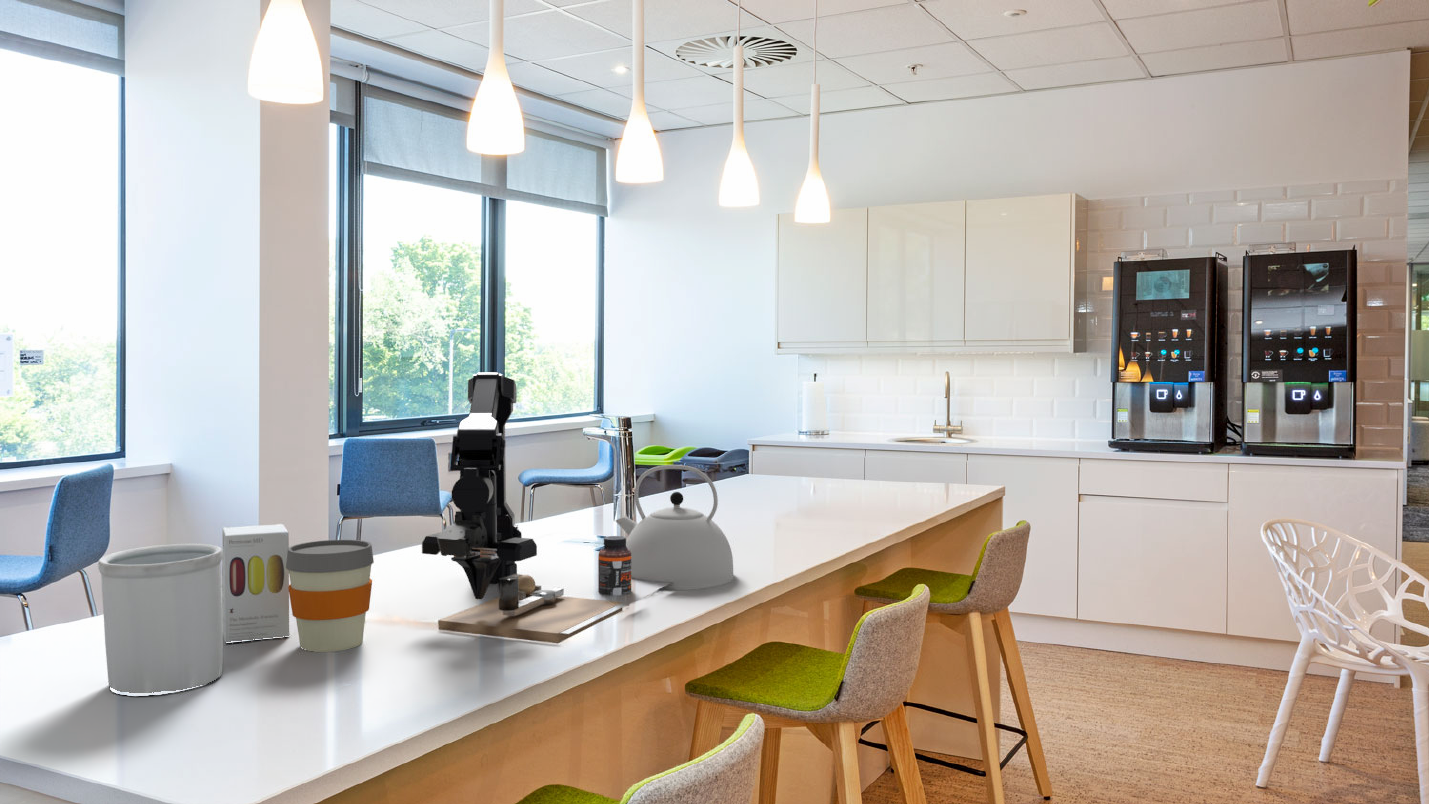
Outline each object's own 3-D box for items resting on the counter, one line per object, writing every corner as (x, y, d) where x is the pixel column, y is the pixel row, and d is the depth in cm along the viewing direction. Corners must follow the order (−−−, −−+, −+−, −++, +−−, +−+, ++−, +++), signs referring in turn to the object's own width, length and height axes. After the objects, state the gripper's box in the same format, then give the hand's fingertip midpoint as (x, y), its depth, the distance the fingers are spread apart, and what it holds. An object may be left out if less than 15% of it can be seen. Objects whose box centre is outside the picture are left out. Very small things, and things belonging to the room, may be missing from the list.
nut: (510, 596, 185) (510, 576, 185) (521, 592, 189) (521, 572, 189) (528, 598, 184) (528, 577, 184) (539, 593, 188) (539, 573, 187)
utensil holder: (94, 705, 132) (90, 567, 131) (109, 672, 146) (106, 547, 145) (223, 690, 138) (220, 558, 137) (226, 660, 152) (223, 540, 151)
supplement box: (224, 645, 160) (221, 535, 159) (221, 631, 168) (219, 526, 167) (291, 637, 164) (289, 530, 163) (285, 624, 172) (284, 522, 171)
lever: (548, 594, 185) (548, 560, 185) (568, 596, 184) (568, 561, 184) (492, 617, 169) (492, 579, 169) (514, 620, 167) (513, 581, 167)
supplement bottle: (626, 604, 186) (625, 540, 186) (594, 602, 187) (593, 539, 187) (635, 596, 192) (635, 535, 191) (604, 595, 193) (603, 534, 193)
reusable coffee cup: (286, 638, 164) (284, 542, 163) (371, 629, 169) (369, 537, 168) (288, 659, 152) (286, 556, 151) (378, 650, 157) (377, 550, 156)
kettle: (588, 583, 204) (587, 467, 203) (640, 562, 225) (640, 457, 224) (707, 594, 194) (707, 473, 193) (750, 571, 215) (750, 461, 214)
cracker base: (437, 629, 169) (437, 601, 169) (516, 598, 191) (516, 573, 191) (558, 643, 161) (558, 614, 161) (626, 608, 183) (626, 583, 182)
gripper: (399, 507, 167) (400, 604, 167) (499, 513, 160) (500, 615, 160) (442, 498, 177) (443, 590, 178) (538, 504, 170) (538, 599, 171)
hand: (479, 598), depth 171 cm, fingers closed
